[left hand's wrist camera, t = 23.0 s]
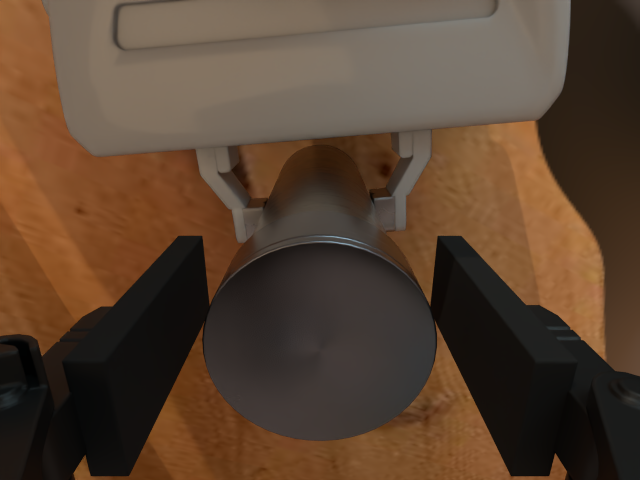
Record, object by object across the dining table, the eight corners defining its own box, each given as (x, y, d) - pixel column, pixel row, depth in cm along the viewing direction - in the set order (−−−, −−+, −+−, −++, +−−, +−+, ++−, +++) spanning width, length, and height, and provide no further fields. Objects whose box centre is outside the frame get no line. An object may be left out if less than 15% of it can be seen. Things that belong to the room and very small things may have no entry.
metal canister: (411, 378, 13) (429, 439, 11) (233, 382, 13) (216, 443, 11) (421, 206, 11) (445, 237, 9) (213, 212, 11) (186, 244, 9)
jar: (344, 131, 25) (382, 206, 10) (372, 209, 26) (443, 377, 11) (265, 163, 25) (184, 279, 10) (297, 237, 27) (268, 431, 12)
